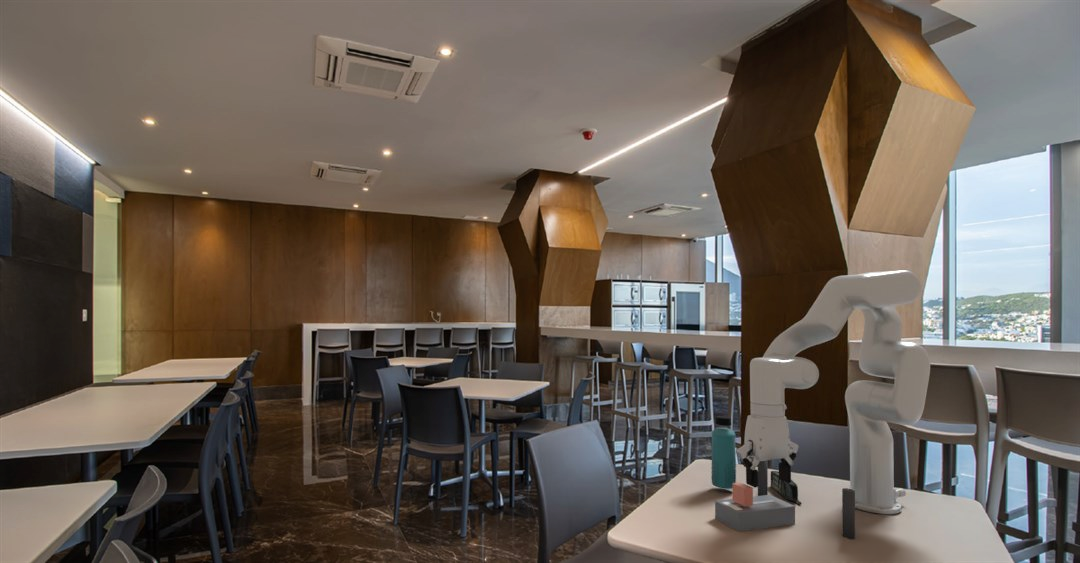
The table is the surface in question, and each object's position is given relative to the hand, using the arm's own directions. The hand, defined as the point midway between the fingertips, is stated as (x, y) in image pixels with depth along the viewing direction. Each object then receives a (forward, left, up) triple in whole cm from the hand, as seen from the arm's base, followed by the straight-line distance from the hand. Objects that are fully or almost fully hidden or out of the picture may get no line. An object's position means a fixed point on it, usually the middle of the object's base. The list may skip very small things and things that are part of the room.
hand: (768, 483), depth 126 cm
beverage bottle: (-3, -20, -9) cm, 22 cm away
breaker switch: (+8, 0, -4) cm, 9 cm away
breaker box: (+4, 0, -8) cm, 9 cm away
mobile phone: (-17, -12, -9) cm, 23 cm away
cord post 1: (-10, -13, -8) cm, 18 cm away
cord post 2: (-10, +13, -8) cm, 18 cm away
